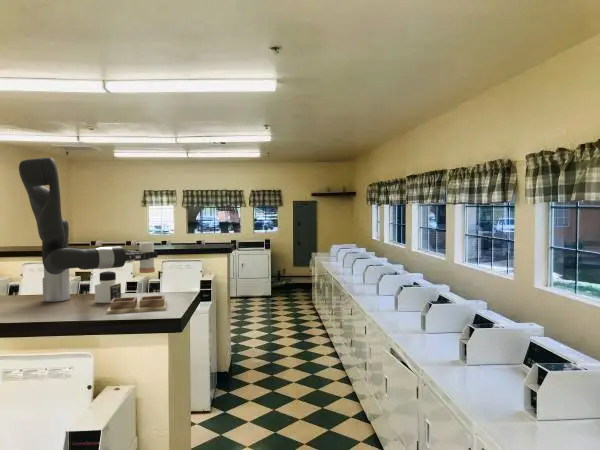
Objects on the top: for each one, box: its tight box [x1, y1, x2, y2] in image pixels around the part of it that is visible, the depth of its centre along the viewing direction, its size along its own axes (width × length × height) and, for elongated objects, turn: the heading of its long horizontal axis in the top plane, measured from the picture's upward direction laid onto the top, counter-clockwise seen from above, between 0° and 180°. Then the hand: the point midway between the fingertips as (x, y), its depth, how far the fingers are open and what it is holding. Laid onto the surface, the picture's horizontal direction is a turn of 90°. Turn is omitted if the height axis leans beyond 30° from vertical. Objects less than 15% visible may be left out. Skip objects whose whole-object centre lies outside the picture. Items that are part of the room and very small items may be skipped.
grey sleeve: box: [138, 241, 156, 274], centre depth 171 cm, size 5×5×11 cm
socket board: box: [106, 294, 168, 315], centre depth 171 cm, size 20×14×4 cm
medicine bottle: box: [94, 270, 122, 304], centre depth 185 cm, size 7×7×12 cm
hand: (153, 254), depth 172 cm, fingers closed on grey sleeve, 5 cm apart
